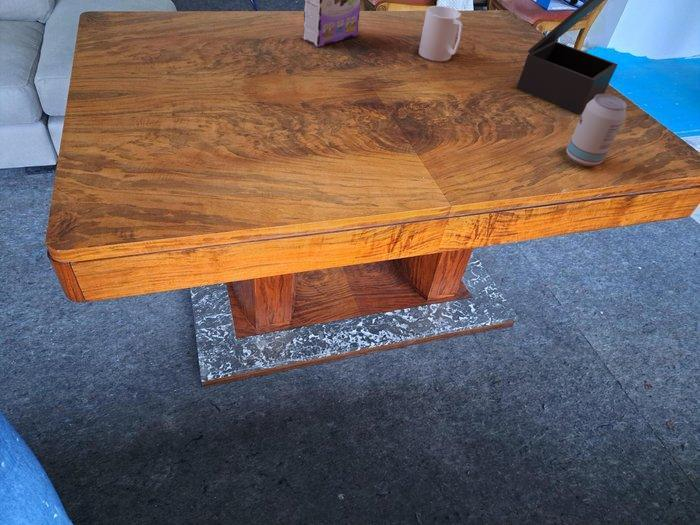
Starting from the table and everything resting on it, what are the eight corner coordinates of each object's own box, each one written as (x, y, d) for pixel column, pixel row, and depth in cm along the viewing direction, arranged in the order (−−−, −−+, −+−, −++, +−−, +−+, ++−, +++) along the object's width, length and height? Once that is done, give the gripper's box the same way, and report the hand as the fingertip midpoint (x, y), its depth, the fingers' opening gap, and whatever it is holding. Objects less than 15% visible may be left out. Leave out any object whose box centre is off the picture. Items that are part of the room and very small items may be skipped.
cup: (440, 69, 121) (449, 26, 114) (412, 49, 128) (419, 7, 121) (466, 65, 124) (478, 22, 117) (438, 45, 131) (447, 4, 124)
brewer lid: (619, -13, 107) (596, -47, 106) (594, -1, 99) (569, -38, 99) (556, 40, 120) (535, 9, 120) (529, 54, 112) (507, 21, 112)
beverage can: (572, 145, 101) (598, 88, 93) (605, 159, 99) (635, 102, 90) (558, 158, 97) (584, 100, 89) (593, 173, 94) (623, 115, 86)
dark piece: (602, 96, 119) (618, 64, 114) (578, 114, 111) (594, 80, 106) (542, 72, 126) (554, 40, 120) (516, 88, 118) (527, 54, 112)
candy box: (342, 28, 134) (348, -42, 122) (358, 36, 131) (365, -35, 119) (302, 39, 126) (304, -35, 114) (317, 47, 123) (321, -28, 112)
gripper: (560, -145, 94) (519, -9, 110) (652, -127, 87) (593, 17, 103) (577, -146, 98) (534, -14, 115) (666, -128, 91) (607, 9, 107)
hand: (562, 0), depth 109 cm, fingers open, 4 cm apart
